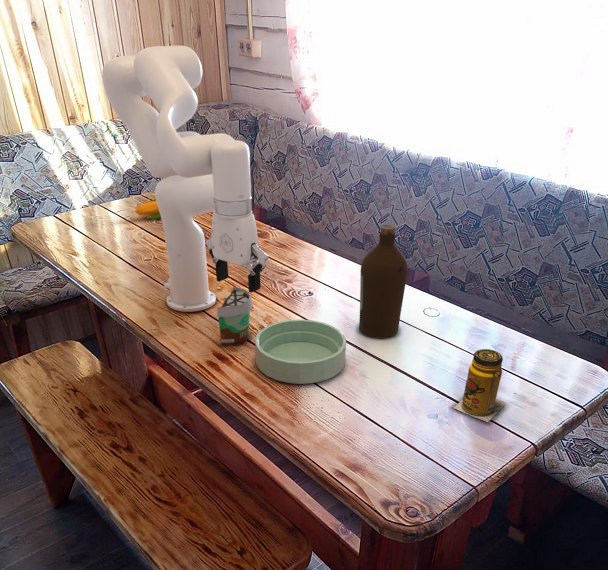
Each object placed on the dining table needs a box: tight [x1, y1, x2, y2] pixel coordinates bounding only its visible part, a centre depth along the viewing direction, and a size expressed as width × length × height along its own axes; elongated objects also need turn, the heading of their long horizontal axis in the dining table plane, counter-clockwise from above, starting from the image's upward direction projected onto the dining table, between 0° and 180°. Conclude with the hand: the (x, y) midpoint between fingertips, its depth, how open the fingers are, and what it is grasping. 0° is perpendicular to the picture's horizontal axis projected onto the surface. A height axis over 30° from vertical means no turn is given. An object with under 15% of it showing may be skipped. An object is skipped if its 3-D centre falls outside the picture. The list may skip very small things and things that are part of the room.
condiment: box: [453, 348, 507, 423], centre depth 113 cm, size 7×8×12 cm
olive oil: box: [358, 224, 409, 339], centre depth 136 cm, size 11×11×25 cm
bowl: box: [254, 319, 347, 385], centre depth 128 cm, size 19×19×6 cm
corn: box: [134, 195, 161, 220], centre depth 211 cm, size 7×8×20 cm
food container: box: [216, 286, 254, 347], centre depth 136 cm, size 12×6×10 cm, turn 168°
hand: (238, 284), depth 131 cm, fingers open, 9 cm apart
